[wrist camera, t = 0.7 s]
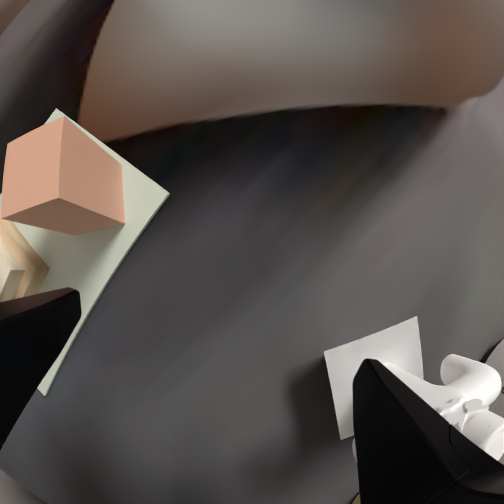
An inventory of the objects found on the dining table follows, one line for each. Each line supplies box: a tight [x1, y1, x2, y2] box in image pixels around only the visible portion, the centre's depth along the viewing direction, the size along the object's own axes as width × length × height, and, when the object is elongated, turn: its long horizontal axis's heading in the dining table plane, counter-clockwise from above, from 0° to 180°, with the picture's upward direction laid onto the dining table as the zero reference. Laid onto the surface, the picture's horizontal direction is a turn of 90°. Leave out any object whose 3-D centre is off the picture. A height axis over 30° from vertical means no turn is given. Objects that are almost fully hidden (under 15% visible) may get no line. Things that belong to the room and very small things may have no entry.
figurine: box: [324, 316, 504, 462], centre depth 13 cm, size 7×9×15 cm
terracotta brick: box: [1, 116, 125, 235], centre depth 17 cm, size 5×5×9 cm
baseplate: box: [0, 108, 170, 396], centre depth 21 cm, size 23×17×1 cm
